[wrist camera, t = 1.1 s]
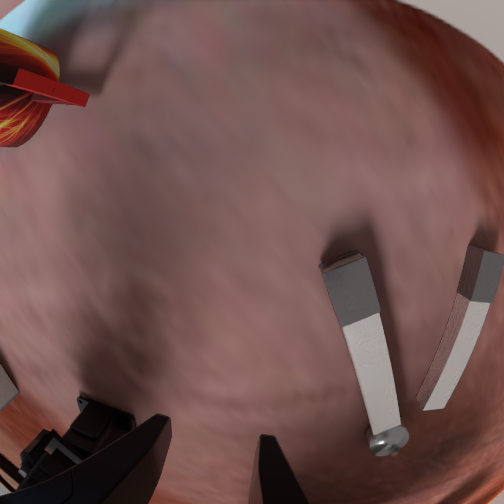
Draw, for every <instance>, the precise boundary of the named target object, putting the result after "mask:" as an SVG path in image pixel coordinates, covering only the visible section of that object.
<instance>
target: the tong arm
mask: <svg viewBox="0 0 504 504" xmlns="http://www.w3.org/2000/svg"><path fill="white" fill-rule="evenodd" d="M318 266H319V268H320V271H321V274H322V277H323V279H324V282H325V285H326V288H327V291H328V294H329V297H330V299H331V302H332V305H333V308H334V311H335V314H336V316H337V319H338V321H339V323H340V326H341V328H342V331H343V334H344V337H345V340H346V343H347V346H348V349H349V353H350V356H351V359H352V362H353V366H354V369H355V373H356V376H357V379H358V383H359V386H360V390H361V393H362V397H363V400H364V404H365V408H366V412H367V415H368V419H369V423H370V426H369V428H368V429H367V431H366V438H367V441H368V445H369V448H370V452H371V453H372V454H373V455H375V456H386V455H390V454H392V453H395V452H397V451H398V450H400V449H401V448H402V447H404V446H405V445H406V443H407V442H408V440H409V433H408V431H407V428H406V426H405V424H404V422H403V420H402V418H401V417H400V414H399V408H398V401H397V395H396V389H395V383H394V378H393V373H392V368H391V363H390V358H389V353H388V348H387V344H386V339H385V335H384V331H383V326H382V322H381V318H380V314H379V312H381V309H380V305H379V301H378V298H377V294H376V290H375V287H374V283H373V279H372V276H371V273H370V269H369V266H368V262H367V259H366V257H365V256H364V255H363V254H362V253H360V252H359V251H358V250H357V249H356V250H354V251H351V252H349V253H347V254H344V255H342V256H339V257H337V258H334V259H332V260H329V261H326V262H324V263H321V264H319V265H318Z"/></svg>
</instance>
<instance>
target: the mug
mask: <svg viewBox="0 0 504 504" xmlns="http://www.w3.org/2000/svg"><path fill="white" fill-rule="evenodd" d="M59 76H60V66H59V61H58V58H57V56H56V54H55V53H53V52H52V51H51V50H49V49H46V48H44V47H42V46H40V45H38V44H36V43H33V42H31V41H29V40H27V39H24V38H22V37H20V36H17V35H15V34H13V33H10V32H8V31H5V30H3V29H0V147H18V146H20V145H23V144H24V143H25V142H27V141H28V140H29V139H30V138H31V137H32V136H33V135H34V134H35V133H36V132H37V130H38V129H39V128H40V126H41V125H42V123H43V121H44V120H45V118H46V116H47V114H48V112H49V110H50V108H51V106H52V104H67V105H77V106H83V107H85V106H86V103H87V101H88V98H89V96H90V94H88V93H85V92H83V91H80V90H78V89H75V88H73V87H70V86H68V85H65V84H63V83H60V82H59Z"/></svg>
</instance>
